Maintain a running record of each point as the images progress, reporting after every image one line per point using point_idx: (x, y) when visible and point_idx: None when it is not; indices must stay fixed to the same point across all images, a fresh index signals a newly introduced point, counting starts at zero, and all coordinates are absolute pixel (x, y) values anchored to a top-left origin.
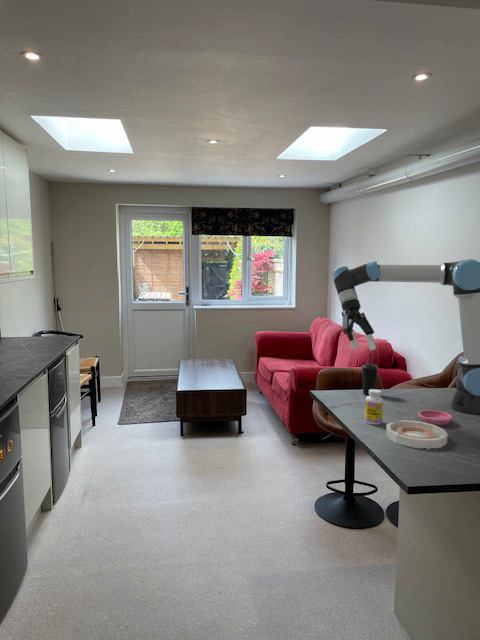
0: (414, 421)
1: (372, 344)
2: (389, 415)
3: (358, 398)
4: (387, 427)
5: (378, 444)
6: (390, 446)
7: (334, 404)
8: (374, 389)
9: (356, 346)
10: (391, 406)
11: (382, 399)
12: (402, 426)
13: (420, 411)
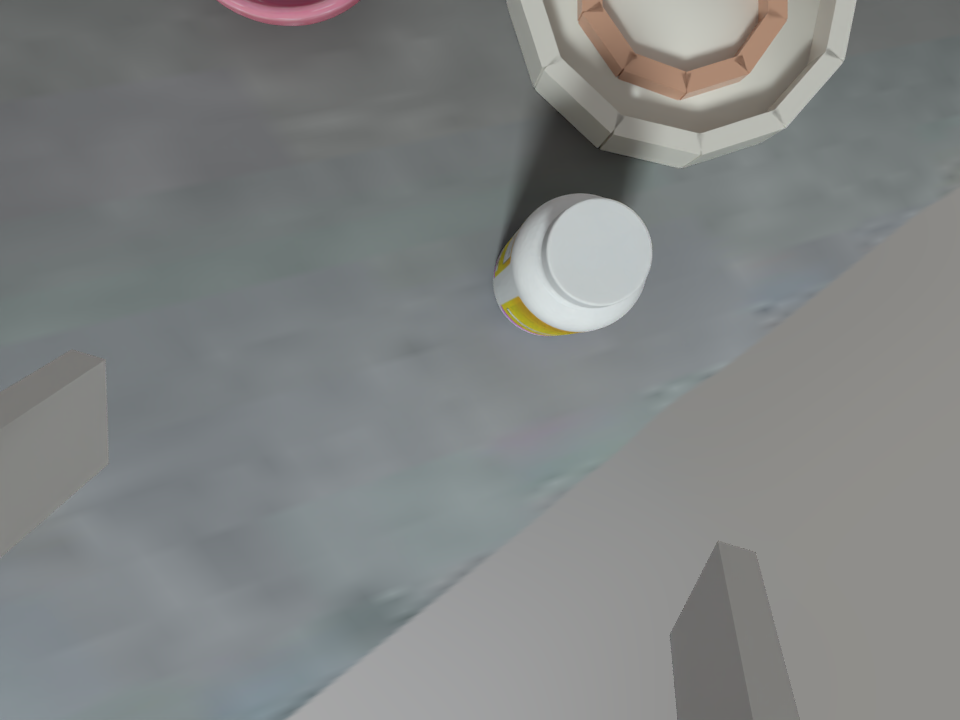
0: (534, 7)
1: (36, 442)
2: (332, 226)
3: (28, 540)
4: (748, 137)
5: (883, 161)
6: (876, 99)
7: (303, 634)
8: (558, 267)
9: (752, 577)
10: (98, 264)
11: (583, 195)
12: (633, 71)
13: (259, 8)
